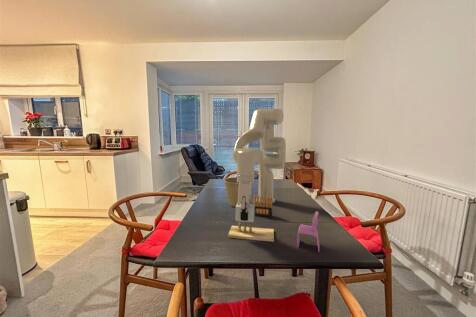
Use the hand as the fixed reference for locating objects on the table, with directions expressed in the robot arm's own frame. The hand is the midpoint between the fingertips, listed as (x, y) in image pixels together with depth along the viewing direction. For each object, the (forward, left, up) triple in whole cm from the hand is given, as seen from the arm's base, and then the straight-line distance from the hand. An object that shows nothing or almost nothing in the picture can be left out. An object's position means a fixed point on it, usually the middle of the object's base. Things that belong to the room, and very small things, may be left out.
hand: (245, 217), depth 94 cm
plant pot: (-35, -10, -8) cm, 38 cm away
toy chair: (+5, +27, -8) cm, 29 cm away
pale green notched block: (0, 0, -1) cm, 1 cm away
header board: (0, +3, -8) cm, 9 cm away
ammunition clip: (-22, +7, -8) cm, 25 cm away
